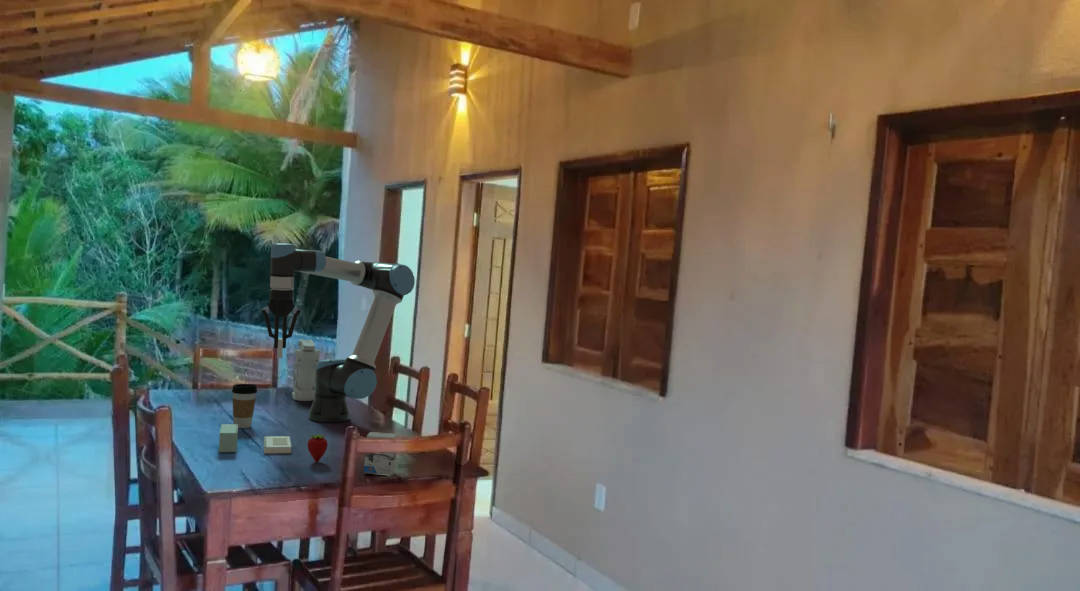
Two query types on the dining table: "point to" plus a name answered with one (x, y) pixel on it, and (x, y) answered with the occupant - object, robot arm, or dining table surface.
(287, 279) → the robot arm
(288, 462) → the dining table surface
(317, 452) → the strawberry
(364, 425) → the dining table surface
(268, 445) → the cream flat block
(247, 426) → the coffee cup
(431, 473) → the dining table surface
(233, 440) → the grey rectangular block
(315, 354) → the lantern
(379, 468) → the ink box
